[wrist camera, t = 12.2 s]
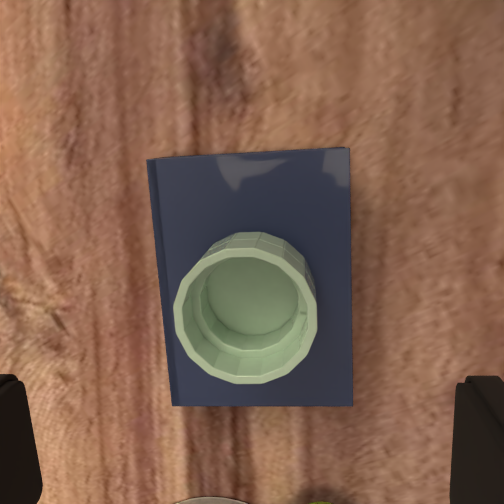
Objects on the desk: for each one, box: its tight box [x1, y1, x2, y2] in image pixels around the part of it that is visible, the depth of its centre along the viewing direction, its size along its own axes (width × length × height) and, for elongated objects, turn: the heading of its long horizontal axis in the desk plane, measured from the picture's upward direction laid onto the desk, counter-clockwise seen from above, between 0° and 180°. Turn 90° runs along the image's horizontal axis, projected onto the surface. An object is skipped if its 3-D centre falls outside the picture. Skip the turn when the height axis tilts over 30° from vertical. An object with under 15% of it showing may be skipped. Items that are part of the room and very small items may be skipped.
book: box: [146, 147, 353, 406], centre depth 29 cm, size 15×11×3 cm
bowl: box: [173, 232, 317, 384], centre depth 25 cm, size 7×7×5 cm
